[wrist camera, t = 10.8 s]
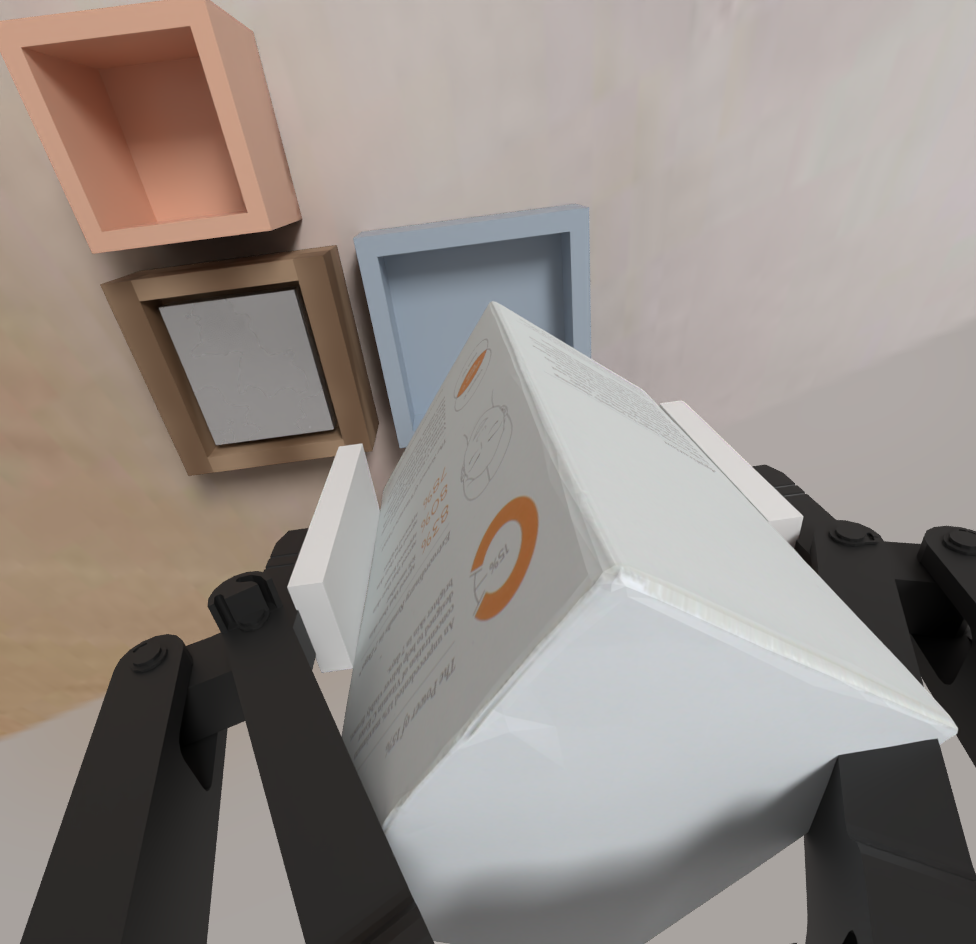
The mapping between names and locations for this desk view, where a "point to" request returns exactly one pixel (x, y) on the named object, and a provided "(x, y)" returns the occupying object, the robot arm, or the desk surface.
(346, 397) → the brown wooden square tray
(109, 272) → the desk surface
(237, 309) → the plate
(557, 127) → the desk surface
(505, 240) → the tray
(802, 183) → the desk surface
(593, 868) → the small box
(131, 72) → the pink open box
